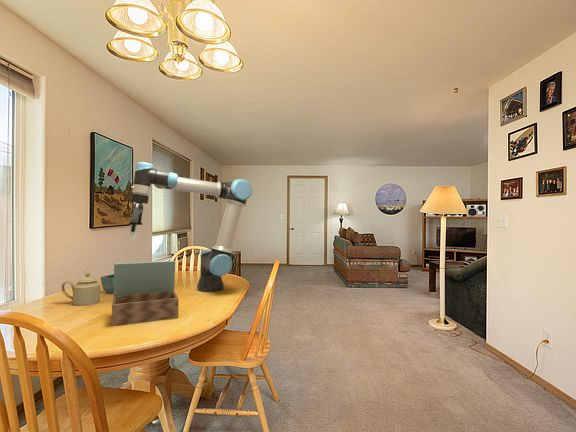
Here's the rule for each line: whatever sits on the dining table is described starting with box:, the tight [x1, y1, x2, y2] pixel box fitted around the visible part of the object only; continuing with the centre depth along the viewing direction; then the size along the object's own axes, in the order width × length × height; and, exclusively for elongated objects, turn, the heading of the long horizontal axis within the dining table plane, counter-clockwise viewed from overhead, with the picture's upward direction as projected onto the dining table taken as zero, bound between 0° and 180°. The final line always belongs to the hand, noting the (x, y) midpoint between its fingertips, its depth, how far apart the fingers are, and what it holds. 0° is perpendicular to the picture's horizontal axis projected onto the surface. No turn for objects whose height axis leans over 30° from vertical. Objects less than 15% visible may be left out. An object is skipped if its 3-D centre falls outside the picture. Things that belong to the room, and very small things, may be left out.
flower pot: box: [100, 273, 114, 295], centre depth 167 cm, size 9×9×9 cm
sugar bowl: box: [61, 270, 102, 307], centre depth 146 cm, size 15×11×15 cm
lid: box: [113, 260, 176, 297], centre depth 134 cm, size 24×14×1 cm
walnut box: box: [111, 290, 179, 327], centre depth 128 cm, size 24×14×8 cm, turn 117°
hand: (133, 238), depth 147 cm, fingers open, 13 cm apart
